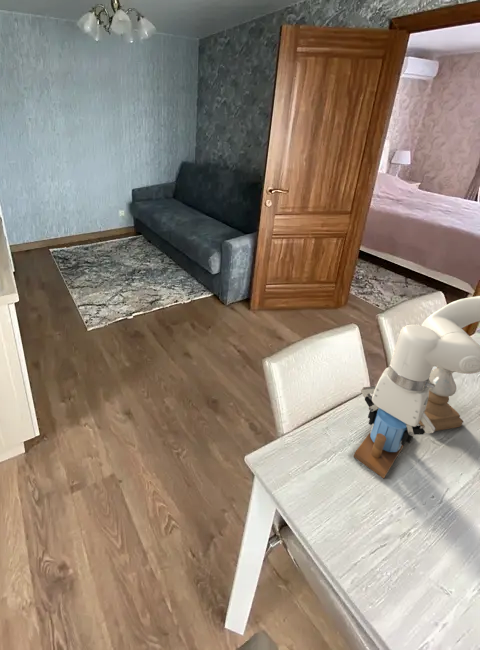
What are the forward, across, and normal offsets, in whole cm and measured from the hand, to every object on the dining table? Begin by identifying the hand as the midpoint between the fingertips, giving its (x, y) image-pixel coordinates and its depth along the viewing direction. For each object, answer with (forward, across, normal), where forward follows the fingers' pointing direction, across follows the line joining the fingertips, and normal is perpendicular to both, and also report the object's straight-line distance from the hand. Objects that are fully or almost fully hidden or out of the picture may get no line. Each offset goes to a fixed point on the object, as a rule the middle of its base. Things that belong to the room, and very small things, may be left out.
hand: (388, 431), depth 86 cm
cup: (+3, 0, 0) cm, 3 cm away
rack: (+5, 0, 0) cm, 5 cm away
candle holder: (+5, -4, -21) cm, 22 cm away
